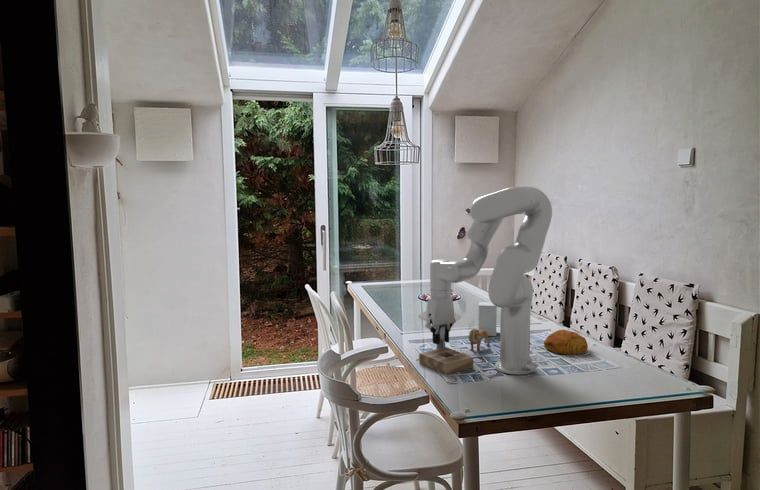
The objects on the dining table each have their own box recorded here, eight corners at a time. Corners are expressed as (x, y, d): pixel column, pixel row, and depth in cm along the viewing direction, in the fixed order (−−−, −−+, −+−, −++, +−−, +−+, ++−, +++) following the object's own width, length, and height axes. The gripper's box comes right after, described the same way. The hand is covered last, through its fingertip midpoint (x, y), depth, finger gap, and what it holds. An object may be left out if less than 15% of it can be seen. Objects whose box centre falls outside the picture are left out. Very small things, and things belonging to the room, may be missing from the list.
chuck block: (473, 367, 172) (473, 356, 172) (446, 374, 166) (446, 363, 165) (445, 356, 184) (445, 346, 184) (419, 363, 177) (419, 352, 177)
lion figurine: (480, 355, 185) (480, 330, 184) (466, 353, 188) (466, 329, 187) (491, 344, 198) (491, 321, 197) (478, 342, 201) (478, 320, 200)
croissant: (566, 347, 200) (564, 327, 200) (595, 353, 186) (594, 331, 186) (535, 351, 195) (534, 330, 195) (563, 357, 180) (562, 334, 181)
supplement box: (496, 336, 209) (496, 305, 208) (477, 335, 211) (478, 305, 209) (496, 331, 216) (496, 302, 215) (478, 330, 218) (478, 301, 217)
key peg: (448, 352, 189) (448, 320, 187) (440, 354, 186) (440, 322, 185) (441, 349, 192) (441, 318, 191) (433, 351, 190) (433, 320, 188)
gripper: (451, 289, 195) (451, 336, 196) (416, 294, 185) (416, 344, 187) (464, 292, 188) (464, 341, 190) (429, 298, 179) (429, 349, 181)
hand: (440, 342), depth 189 cm, fingers open, 3 cm apart
